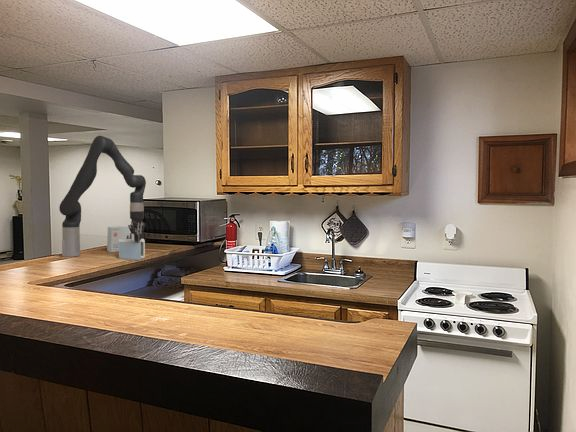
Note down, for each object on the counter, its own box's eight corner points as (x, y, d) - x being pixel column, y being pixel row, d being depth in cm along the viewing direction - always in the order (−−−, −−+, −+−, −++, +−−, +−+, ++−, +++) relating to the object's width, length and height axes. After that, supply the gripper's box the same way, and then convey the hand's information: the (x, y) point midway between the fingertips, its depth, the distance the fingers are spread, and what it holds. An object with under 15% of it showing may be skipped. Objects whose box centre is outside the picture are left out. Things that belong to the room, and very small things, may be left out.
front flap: (118, 258, 255) (118, 231, 253) (120, 258, 256) (119, 231, 255) (140, 259, 251) (139, 232, 250) (141, 259, 253) (141, 232, 251)
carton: (119, 258, 256) (119, 241, 255) (118, 255, 265) (118, 239, 264) (144, 257, 261) (144, 240, 260) (143, 254, 270) (143, 238, 270)
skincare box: (111, 252, 277) (111, 227, 276) (106, 251, 280) (106, 226, 279) (140, 249, 293) (140, 225, 292) (136, 248, 297) (136, 224, 296)
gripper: (138, 209, 258) (139, 239, 259) (123, 211, 245) (124, 242, 246) (149, 209, 256) (150, 239, 257) (134, 211, 243) (135, 242, 244)
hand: (137, 240), depth 252 cm, fingers closed
